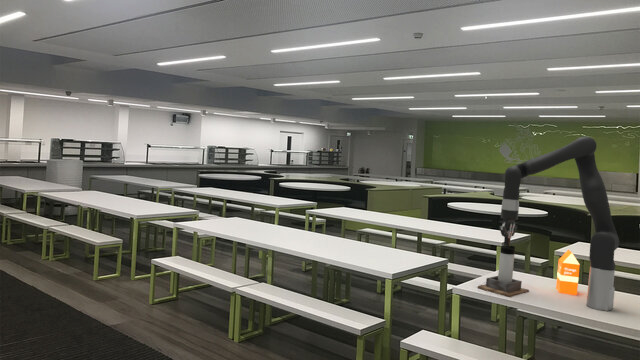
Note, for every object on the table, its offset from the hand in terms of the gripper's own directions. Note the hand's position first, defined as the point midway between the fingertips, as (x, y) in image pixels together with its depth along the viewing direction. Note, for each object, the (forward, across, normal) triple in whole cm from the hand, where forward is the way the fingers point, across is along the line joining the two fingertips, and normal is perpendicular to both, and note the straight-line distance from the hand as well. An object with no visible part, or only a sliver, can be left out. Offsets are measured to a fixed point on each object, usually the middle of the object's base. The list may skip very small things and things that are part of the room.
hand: (506, 245), depth 220 cm
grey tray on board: (+21, 0, 0) cm, 21 cm away
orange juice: (+22, +28, -17) cm, 39 cm away
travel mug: (+21, +1, 0) cm, 21 cm away
